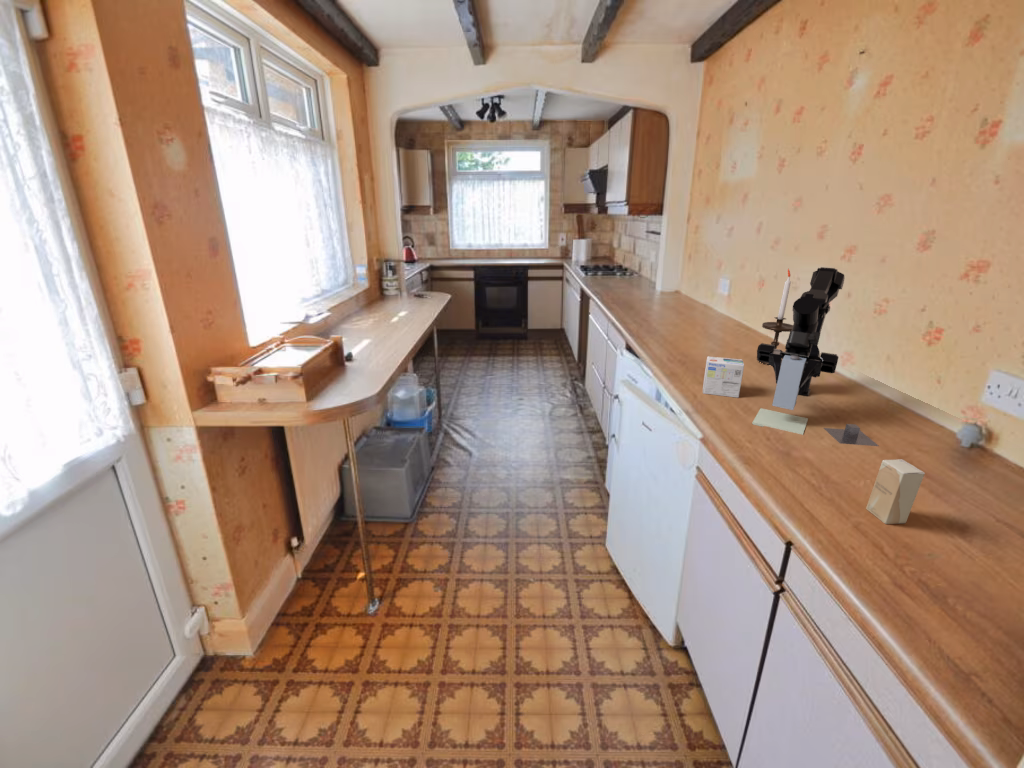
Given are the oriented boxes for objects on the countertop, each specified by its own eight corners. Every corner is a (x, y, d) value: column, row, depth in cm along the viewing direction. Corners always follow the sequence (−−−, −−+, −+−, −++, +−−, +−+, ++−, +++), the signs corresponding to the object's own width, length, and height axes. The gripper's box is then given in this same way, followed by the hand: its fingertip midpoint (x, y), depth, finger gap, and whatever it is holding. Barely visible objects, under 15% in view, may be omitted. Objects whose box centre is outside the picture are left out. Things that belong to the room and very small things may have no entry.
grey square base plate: (822, 429, 129) (826, 417, 128) (859, 431, 128) (863, 419, 126) (839, 444, 120) (842, 432, 119) (878, 447, 119) (882, 435, 118)
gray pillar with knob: (775, 399, 134) (785, 352, 129) (795, 403, 131) (807, 355, 126) (772, 405, 130) (782, 356, 125) (793, 410, 128) (804, 360, 123)
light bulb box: (737, 391, 155) (743, 358, 151) (739, 398, 149) (745, 365, 145) (701, 386, 158) (706, 355, 154) (702, 393, 152) (707, 361, 148)
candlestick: (751, 362, 183) (770, 268, 171) (760, 356, 191) (777, 265, 179) (783, 368, 177) (804, 271, 165) (790, 362, 184) (811, 268, 172)
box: (864, 508, 95) (880, 458, 91) (885, 507, 95) (901, 457, 91) (886, 525, 90) (904, 473, 86) (908, 524, 90) (926, 472, 86)
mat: (760, 410, 140) (760, 408, 140) (807, 420, 134) (808, 418, 134) (752, 424, 131) (752, 422, 131) (802, 436, 125) (803, 433, 124)
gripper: (765, 314, 131) (749, 363, 126) (847, 324, 121) (833, 377, 116) (764, 336, 140) (750, 383, 135) (841, 347, 130) (828, 398, 125)
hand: (788, 385), depth 128 cm, fingers closed on gray pillar with knob, 5 cm apart
